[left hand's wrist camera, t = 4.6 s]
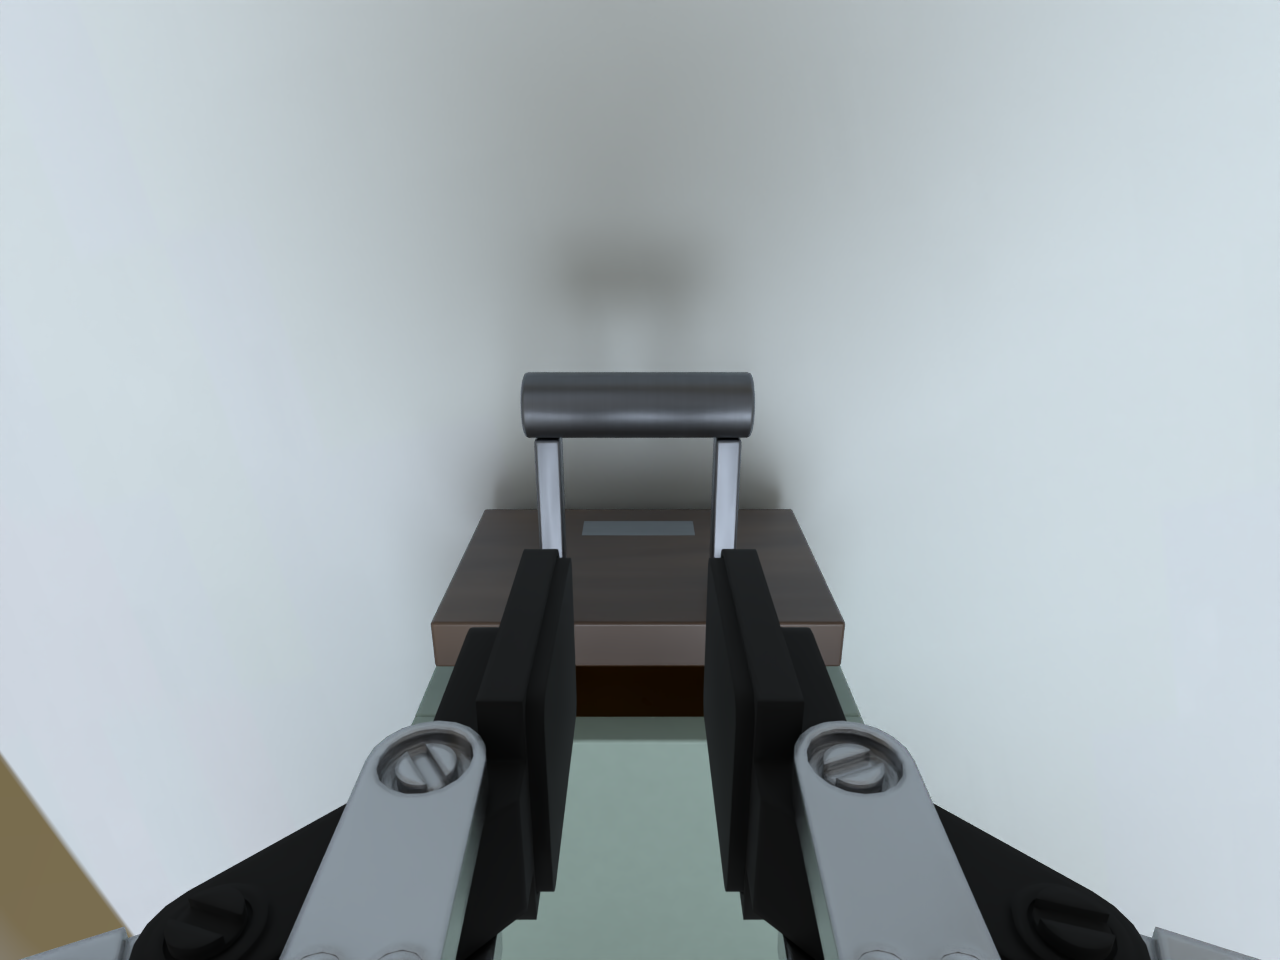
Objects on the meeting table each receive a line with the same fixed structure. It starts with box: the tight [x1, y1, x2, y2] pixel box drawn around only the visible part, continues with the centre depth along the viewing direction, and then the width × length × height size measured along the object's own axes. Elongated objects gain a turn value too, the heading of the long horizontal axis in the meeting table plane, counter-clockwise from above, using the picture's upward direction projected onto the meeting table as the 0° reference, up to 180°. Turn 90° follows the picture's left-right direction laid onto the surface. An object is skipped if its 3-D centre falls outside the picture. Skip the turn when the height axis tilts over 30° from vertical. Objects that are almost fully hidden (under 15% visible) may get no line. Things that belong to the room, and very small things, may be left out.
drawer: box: [431, 372, 845, 717], centre depth 23 cm, size 24×9×7 cm, turn 0°
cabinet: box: [411, 666, 864, 960], centre depth 25 cm, size 20×11×8 cm, turn 0°
